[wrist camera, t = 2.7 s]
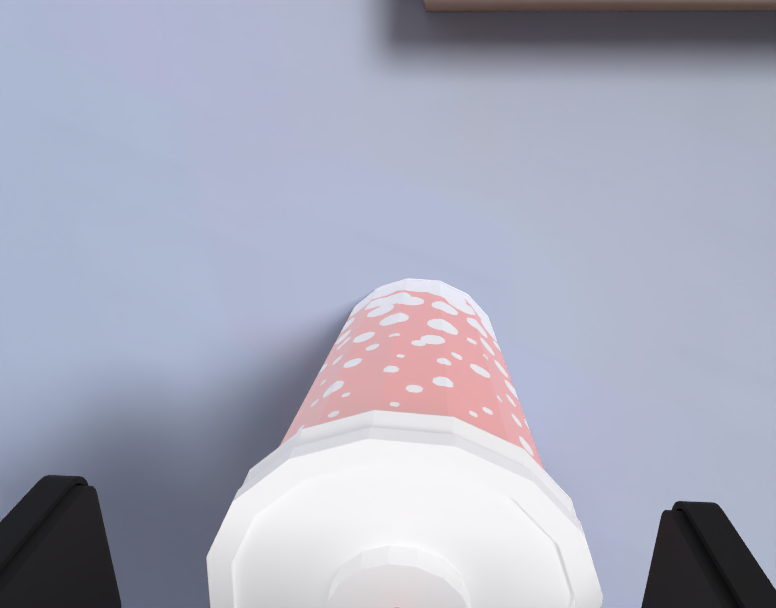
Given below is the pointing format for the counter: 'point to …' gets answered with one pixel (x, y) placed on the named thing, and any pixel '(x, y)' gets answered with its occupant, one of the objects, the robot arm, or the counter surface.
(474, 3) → the walnut base
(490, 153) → the counter surface
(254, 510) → the beverage cup
